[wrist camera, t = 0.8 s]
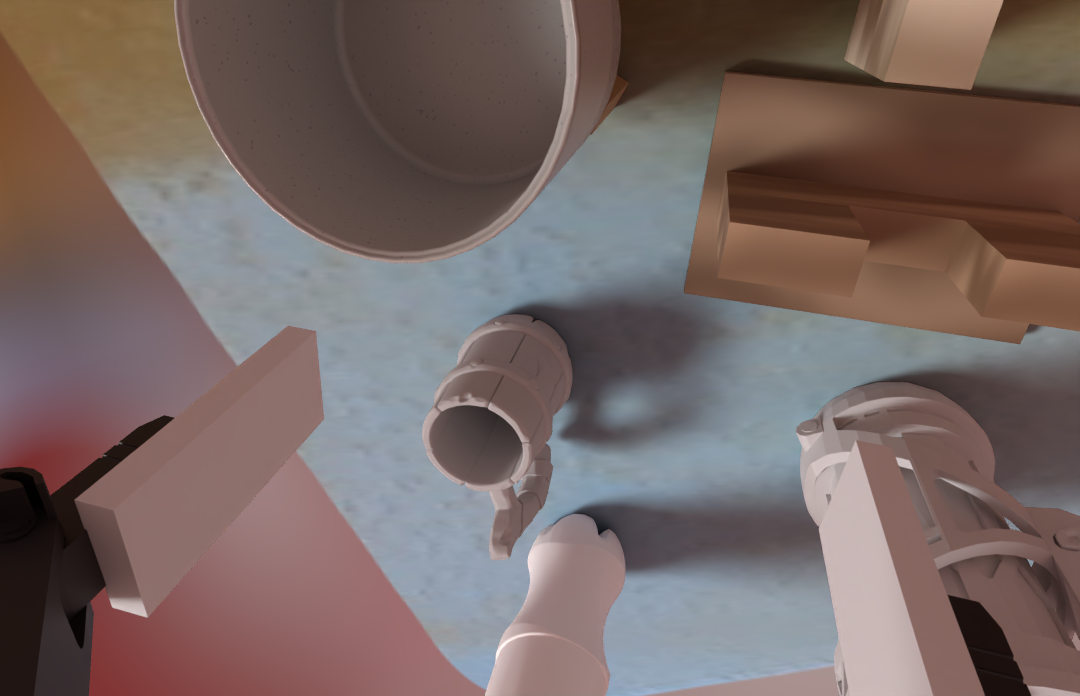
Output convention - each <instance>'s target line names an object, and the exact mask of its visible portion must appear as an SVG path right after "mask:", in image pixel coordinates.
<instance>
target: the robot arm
mask: <svg viewBox="0 0 1080 696" xmlns="http://www.w3.org/2000/svg"><path fill="white" fill-rule="evenodd" d="M323 420H324V414H323V403H322V392H321V381H320V371H319V360H318V349H317V338H316V331H312V330H307V329H302V328H297V327H292V326H287V327H286V328H285V329H284V330H282V331H281V332H280V333H279V334H278V335H276V336H275V337H274V338H273V339H271V340H270V341H269V342H268V343H266V344H265V345H264V346H263V347H262V348H260V349H259V350H258V351H257V352H255V353H254V354H253V355H252V356H251V357H249V358H248V359H247V360H246V361H244V362H243V363H242V364H241V365H239V366H238V367H237V368H236V369H235V370H233V371H232V372H231V373H230V374H228V375H227V376H226V377H225V378H224V379H222V380H221V381H220V382H219V383H218V384H216V385H215V386H214V387H212V388H211V389H210V390H209V391H208V392H206V393H205V394H204V395H203V396H201V397H200V398H199V399H198V400H196V401H195V402H194V403H193V404H192V405H190V406H189V407H188V408H187V409H185V410H184V411H183V412H182V413H181V414H179V415H178V416H177V417H176V418H173V417H169V416H162V417H160V418H157V419H155V420H153V421H151V422H149V423H146V424H144V425H142V426H140V427H138V428H137V429H135V430H134V431H133V432H131V433H130V434H129V435H128V436H126V437H125V438H124V439H123V440H121V441H120V442H119V445H118V446H116V445H115V446H113V447H112V448H111V449H110V450H108V451H107V452H106V453H104V454H103V457H102V458H98V459H97V460H96V461H94V462H93V463H92V464H90V465H89V466H88V467H87V468H85V469H84V470H83V471H81V472H80V473H79V474H78V475H76V476H75V477H74V478H73V479H71V480H70V481H69V482H67V483H66V484H65V485H64V486H62V487H61V488H60V489H59V490H57V491H56V492H54V493H53V494H52V495H51V496H50V494H49V491H48V489H47V486H46V484H45V481H44V478H43V476H42V474H41V473H39V472H37V471H36V470H34V469H31V468H25V467H13V468H4V469H0V696H89V682H90V666H91V649H92V633H93V616H94V613H93V609H92V605H91V602H90V601H91V600H92V599H93V598H94V597H95V596H96V595H97V594H98V593H99V592H100V591H101V590H102V589H103V588H104V587H105V588H106V590H107V594H108V596H109V599H110V602H111V605H112V607H113V608H116V609H119V610H123V611H126V612H130V613H133V614H137V615H141V616H144V617H149V616H150V614H151V613H152V612H153V611H154V610H155V609H156V608H157V607H158V605H159V604H160V603H161V602H162V601H163V600H164V599H165V598H166V596H167V595H168V594H169V593H170V592H171V591H172V590H173V589H174V587H175V586H176V585H177V584H178V583H179V582H180V581H181V580H182V578H183V577H184V576H185V575H186V574H187V573H188V571H189V570H190V569H191V568H192V567H193V566H194V565H195V564H196V563H197V562H198V560H199V559H200V558H201V557H202V556H203V555H204V554H205V552H206V551H207V550H208V549H209V548H210V547H211V546H212V544H214V542H215V541H216V540H217V539H218V538H219V537H220V536H221V534H222V533H223V532H224V531H225V530H226V529H227V527H228V526H229V525H230V524H231V523H232V522H233V521H234V520H235V518H237V516H238V515H239V514H240V513H241V512H242V511H243V510H244V509H245V507H246V506H247V505H248V504H249V503H250V502H251V501H252V499H253V498H254V497H255V496H256V495H257V494H258V493H259V492H260V490H261V489H262V488H263V487H264V486H265V485H266V484H267V483H268V481H269V480H270V479H271V478H272V477H273V476H274V475H275V474H276V473H277V471H278V470H279V469H280V468H281V467H282V466H283V465H284V463H285V462H286V461H287V460H288V459H289V458H290V457H291V456H292V454H293V453H294V452H295V451H296V450H297V449H298V448H299V447H300V445H301V444H302V443H303V442H304V441H305V440H306V439H307V438H308V436H309V435H310V434H311V433H312V432H313V431H314V430H315V429H316V427H317V426H318V425H319V424H320V423H321V422H322V421H323ZM819 533H820V539H821V544H822V549H823V555H824V560H825V565H826V571H827V576H828V581H829V587H830V592H831V597H832V603H833V608H834V613H835V619H836V624H837V630H838V635H839V640H840V646H841V651H842V656H843V662H844V667H845V672H846V678H847V683H848V688H849V694H850V696H1031V693H1030V691H1029V689H1028V687H1027V684H1024V683H1023V679H1024V678H1023V675H1022V673H1021V671H1020V668H1019V666H1018V664H1017V662H1016V661H1014V659H1013V657H1014V655H1013V653H1012V650H1011V648H1010V646H1009V643H1008V641H1007V639H1006V637H1005V634H1004V632H1003V630H1002V628H1001V627H1000V626H999V624H998V623H997V622H996V621H995V620H994V619H993V617H992V616H991V615H990V614H989V613H988V612H987V610H986V609H985V608H984V607H983V606H982V605H981V603H980V602H977V601H973V600H968V599H964V598H960V597H955V596H951V595H947V593H946V590H945V588H944V585H943V582H942V580H941V577H940V574H939V572H938V569H937V566H936V564H935V561H934V558H933V556H932V553H931V550H930V548H929V545H928V542H927V540H926V537H925V534H924V532H923V529H922V526H921V524H920V521H919V518H918V516H917V513H916V510H915V508H914V505H913V502H912V500H911V497H910V494H909V492H908V489H907V486H906V484H905V481H904V478H903V476H902V473H901V471H900V468H899V465H898V463H897V460H896V457H895V455H894V452H893V449H892V447H888V446H883V445H878V444H873V443H868V442H863V441H858V440H856V441H855V443H854V446H853V448H852V450H851V453H850V455H849V458H848V460H847V462H846V465H845V467H844V470H843V472H842V474H841V477H840V479H839V482H838V484H837V486H836V489H835V491H834V494H833V496H832V498H831V501H830V503H829V506H828V508H827V511H826V513H825V515H824V518H823V520H822V523H821V525H820V527H819Z"/></svg>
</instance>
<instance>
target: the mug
mask: <svg viewBox="0 0 1080 696" xmlns="http://www.w3.org/2000/svg"><path fill="white" fill-rule="evenodd" d="M572 380H573V375H572V365H571V358H570V357H569V356H568V352H567V346H566V344H565V342H564V341H563V340H562V338H561V337H560V336H559V334H558V333H557V332H556V331H555V330H554V329H553V328H552V327H550V326H549V325H548V324H546V323H544V322H542V321H540V320H536V321H534V322H533V317H531V316H527V315H521V314H513V315H502V316H499V317H496V318H494V319H492V320H490V321H488V322H487V323H485V324H483V325H481V326H480V327H478V328H477V329H475V330H474V331H473V332H472V333H471V334H470V335H469V336H468V338H467V339H466V341H465V342H464V344H463V346H462V347H461V349H460V350H459V353H458V362H457V366H456V367H455V368H454V369H453V370H452V371H451V372H450V373H449V374H448V375H447V376H446V377H445V379H444V380H443V381H442V383H441V384H440V386H439V387H438V388H437V390H436V392H435V399H434V405H433V406H432V408H431V410H430V412H429V413H428V415H427V417H426V419H425V422H424V425H423V430H422V437H423V442H424V444H425V447H426V448H427V450H426V453H427V455H428V457H429V458H430V460H431V461H432V463H433V464H434V465H435V467H436V468H437V469H438V470H439V471H440V472H441V473H443V474H444V475H445V476H446V477H447V478H449V479H450V480H452V481H453V482H455V483H457V484H459V485H463V484H464V483H465V482H466V487H467V488H470V489H473V490H477V491H489V493H490V496H491V499H492V501H493V504H494V506H495V510H496V512H495V516H494V521H493V526H492V529H491V534H490V540H489V551H490V556H491V559H492V560H502V559H508V558H509V557H510V555H511V552H512V548H513V546H514V544H515V542H516V540H517V539H518V538H519V537H520V536H521V534H522V533H523V531H524V530H525V529H526V527H527V526H528V525H529V524H530V523H531V522H532V521H533V518H534V517H535V516H536V514H537V513H538V511H539V510H541V509H542V508H543V506H544V504H545V501H546V498H547V494H548V489H549V484H550V480H551V476H552V470H553V466H552V464H551V463H550V461H551V450H550V447H549V445H547V444H546V442H547V441H548V440H549V438H550V436H551V434H552V418H553V415H555V414H556V413H557V412H558V411H559V410H560V409H561V408H562V406H563V405H564V403H565V401H567V400H568V398H569V396H570V393H571V390H570V389H571V386H572ZM520 479H522V485H521V486H520V488H519V491H518V494H517V496H516V494H515V491H514V489H513V486H512V485H514V484H515V483H518V481H519V480H520Z"/></svg>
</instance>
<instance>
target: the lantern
mask: <svg viewBox="0 0 1080 696" xmlns="http://www.w3.org/2000/svg"><path fill="white" fill-rule="evenodd" d="M796 433H797V435H798V438H799V440H800V442H801V444H802V450H801V461H800V471H801V482H802V488H803V494H804V499H805V502H806V505H807V509H808V512H809V513H810V515H811V517H812V518H813V520H814V522H815V523H816V524H817V525H818V526H819V527H820V525H821V523H822V520H823V518H824V515H825V513H826V511H827V508H828V506H829V503H830V501H831V498H832V496H833V494H834V491H835V489H836V486H837V484H838V482H839V479H840V477H841V474H842V472H843V470H844V467H845V465H846V462H847V460H848V458H849V455H850V453H851V450H852V448H853V446H854V443H855V441H856V440H858V441H863V442H868V443H873V444H878V445H883V446H888V447H892V449H893V452H894V455H895V457H896V460H897V463H898V465H899V468H900V471H901V473H902V476H903V478H904V481H905V484H906V486H907V489H908V492H909V494H910V497H911V500H912V502H913V505H914V508H915V510H916V513H917V516H918V518H919V521H920V524H921V526H922V529H923V532H924V534H925V537H926V540H927V542H928V545H929V548H930V550H931V553H932V556H933V558H934V561H935V564H936V566H937V569H938V572H939V574H940V577H941V580H942V582H943V585H944V588H945V590H946V593H947V595H951V596H955V597H960V598H964V599H968V600H973V601H977V602H980V603H981V605H982V606H983V607H984V608H985V609H986V610H987V612H988V613H989V614H990V615H991V616H992V617H993V619H994V620H995V621H996V622H997V623H998V624H999V626H1000V627H1001V628H1002V630H1003V632H1004V634H1005V637H1006V639H1007V641H1008V643H1009V646H1010V648H1011V650H1012V653H1013V655H1014V657H1013V659H1014V661H1016V662H1017V664H1018V666H1019V668H1020V671H1021V673H1022V675H1023V678H1024V679H1023V683H1024V684H1027V687H1028V689H1029V691H1030V693H1031V696H1080V651H1078V650H1077V649H1076V648H1075V646H1074V644H1073V642H1072V639H1073V636H1074V632H1076V634H1077V636H1078V638H1079V640H1080V516H1078V515H1075V514H1072V513H1069V512H1066V511H1064V510H1061V509H1053V508H1034V507H1023V506H1022V505H1021V504H1020V503H1019V502H1018V501H1017V500H1016V499H1015V498H1013V497H1012V496H1011V495H1010V494H1008V493H1007V492H1006V491H1004V490H1003V489H1001V488H1000V487H999V486H997V485H996V484H995V483H994V470H995V457H994V451H993V447H992V445H991V443H990V441H989V439H988V437H987V435H986V433H985V432H984V431H983V430H982V428H981V427H980V426H979V425H978V424H977V422H976V421H975V420H974V419H973V418H972V417H971V416H970V415H969V414H968V413H967V411H965V410H964V409H963V408H961V407H960V406H959V405H957V404H956V403H955V402H953V401H952V400H950V399H949V398H947V397H946V396H944V395H943V394H941V393H940V392H938V391H936V390H933V389H929V388H926V387H922V386H919V385H915V384H912V383H908V382H877V383H872V384H868V385H864V386H859V387H855V388H853V389H851V390H849V391H847V392H845V393H843V394H841V395H840V396H838V397H836V398H834V399H832V400H831V401H830V402H828V403H827V404H826V405H825V406H824V407H822V408H821V409H820V410H819V412H818V413H817V414H816V415H815V417H814V418H813V419H811V420H807V421H804V422H802V423H801V424H800V425H799V426H797V429H796ZM1003 516H1004V517H1006V518H1007V519H1009V520H1010V521H1011V522H1012V523H1013V524H1014V525H1016V526H1017V527H1018V528H1019V529H1020V530H1021V531H1022V532H1020V531H1017V530H1010V528H1009V526H1008V524H1007V522H1006V521H1005V519H1004V517H1003ZM1027 559H1030V560H1033V561H1034V563H1033V565H1032V567H1031V566H1030V564H1029V562H1028V561H1027ZM1051 617H1052V618H1051ZM834 663H835V675H836V681H837V687H838V692H839V696H850V694H849V688H848V683H847V678H846V672H845V667H844V662H843V656H842V651H841V646H840V640H838V644H837V647H836V650H835V654H834Z"/></svg>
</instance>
